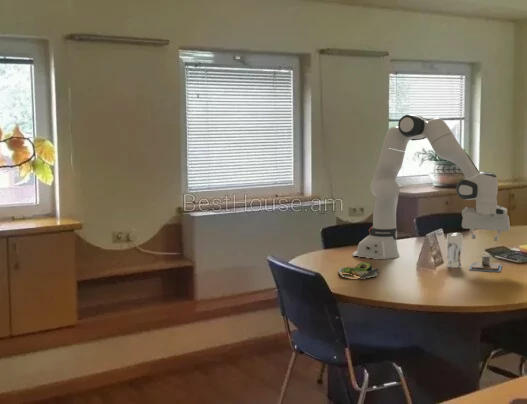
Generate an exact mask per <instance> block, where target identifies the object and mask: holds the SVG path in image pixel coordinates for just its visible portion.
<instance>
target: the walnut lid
mask: <svg viewBox="0 0 527 404" xmlns="http://www.w3.org/2000/svg"><path fill="white" fill-rule="evenodd" d="M490 257H491V256H489V255H482V256H481V259H482V260H481V261H474V262H472V263H473V265H472V269H482V270H497V271H498V269H499V265H501V264H500V263H499V262H498V263H497V262H490Z"/></svg>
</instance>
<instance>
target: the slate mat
mask: <svg viewBox="0 0 527 404" xmlns="http://www.w3.org/2000/svg"><path fill="white" fill-rule="evenodd" d="M473 263H474V262H472V263H471V264H470V267H469V268H468V270H469V271H474V272H488V273H489V272H490V273H501V271H502V267H503V264H500V265H499V269H498V271H497V270H482V269H472V265H473Z"/></svg>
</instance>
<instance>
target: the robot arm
mask: <svg viewBox="0 0 527 404" xmlns="http://www.w3.org/2000/svg"><path fill="white" fill-rule="evenodd" d="M425 139H427V140H428V142H429V144H430V147H431V148H432V150H433V152H434V153H435V154H436V155H437V156H438V158H440V159H442V160H446V161H449V162H451V163H453V164H454V165H456V166H457V167H458V168H460V170H461V172H462V173H463V175H464V176H465V178H463V179H461V180H459V181H458V182H457V183H456V187H455V191H456V195H457V196H458V197H459V198H460V199H461V200H466V201H471V200H475V207H465V208H463V209H462V210H461V217H462V220H461V227H462V229H467V230H468V229H469V232H470V234H471V240H476V239H477V234H474V230H480V231H481V230H483V231H496V233H497V235H496V236H495V235H494V238H493V239H494V241H495V242H498V240H499V236H501V234H502V232H508V231H510V228H511V227H510V225H511V224H510V223H511V222H510V217H509V214H508V209H507V208H506V207H503V206H501V205H498V199H497V197H498V193H499V192H498V191H499V190H498V189H499V184H498V181H499V180H498V176H497V175H496V174H494V173H492V172H489V171H479V169H478V167H477V166H476V165H475V163H474V162H473V160H472V159H471V157H470V156H469V154H467V151H465V149H464V148H463V147H462V145H461V144H460V143H459V142H458V140H457V138H456V136H455V135H454V133H453V132H452V129H450V127H449V126H448V124H447V123H446V121H444V119H442V118H440V117H434V118H431V119H427V118H425V117H424V116H422V115H417V114H412V113H411V114H405V115H403V116H402V117H401V118H400V119H399V120H398V124H397V126H396V125H395V126H392V127H390V128H388V130H387V132H386V135H385V137H384V140H383V143H382V146H381V152H380V155H379V159H378V163H377V166H376V169H375V171H374V174H373V177H372V179H371V182H370V184H369V185H370V187H369V188H370V192H371V193H372V195H373V196H375V200H374V208H373V211H372V226H371V227H370V228H369V229H368V233H369V235H367V236H366V237H364V238H363V239H362V240H361V241H359V243H358V245H357V249H356V251H354V252H353V253H352V257H354V256H359V257H358V258H360V257H366V258H365V259H369V258H373V259H372V260H378V259H383V260H387V259H388V260H389V259H395V258H396V259H397V258H399V257H400V253H399V249H398V242H397V238H398V230H397V229H398V228H397V208H398V202H399V195H400V190H401V189H400V186H399V184H398V182H397V181H396V179H397V177H398V174H399V173H400V171H401V169H402V166H403V162H404V157H405V154H406V149H407V146H408V143H409V141H420V140H425Z"/></svg>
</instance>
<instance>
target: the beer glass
mask: <svg viewBox="0 0 527 404" xmlns="http://www.w3.org/2000/svg"><path fill="white" fill-rule="evenodd" d="M463 240H464V239H463V233H460V232H449V233H447V235H446V250H447V254H448V255H447V256H448V262H447V267H448V268H451V269H460V268H462V262H461V260H462V258H461V257H462V251H463V246H464V242H463Z"/></svg>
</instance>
